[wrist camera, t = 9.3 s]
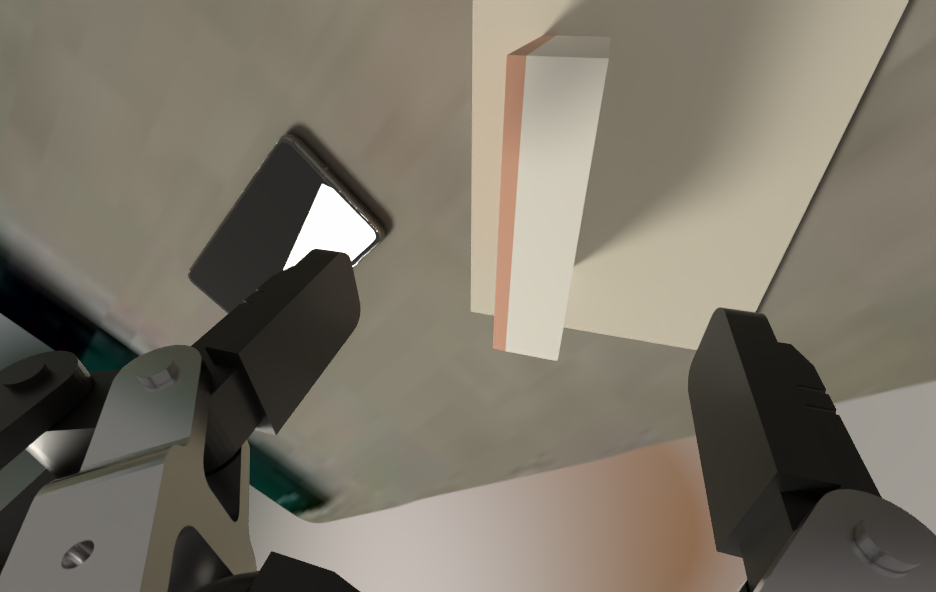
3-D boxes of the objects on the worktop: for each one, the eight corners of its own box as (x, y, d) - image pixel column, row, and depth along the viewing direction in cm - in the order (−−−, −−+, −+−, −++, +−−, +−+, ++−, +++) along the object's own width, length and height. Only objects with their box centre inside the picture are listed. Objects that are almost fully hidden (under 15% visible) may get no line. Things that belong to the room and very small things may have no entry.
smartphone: (182, 276, 30) (282, 129, 21) (194, 268, 31) (295, 124, 22) (263, 345, 32) (387, 238, 23) (272, 336, 33) (395, 229, 24)
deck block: (543, 34, 16) (506, 55, 11) (610, 36, 16) (608, 58, 10) (523, 260, 22) (492, 348, 17) (572, 267, 22) (557, 361, 16)
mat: (475, -68, 15) (473, -69, 15) (942, -83, 12) (951, -85, 12) (472, 307, 25) (471, 311, 25) (732, 351, 22) (733, 356, 22)
